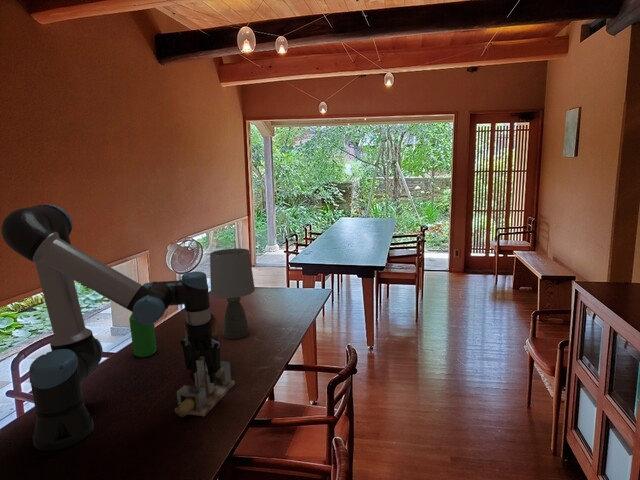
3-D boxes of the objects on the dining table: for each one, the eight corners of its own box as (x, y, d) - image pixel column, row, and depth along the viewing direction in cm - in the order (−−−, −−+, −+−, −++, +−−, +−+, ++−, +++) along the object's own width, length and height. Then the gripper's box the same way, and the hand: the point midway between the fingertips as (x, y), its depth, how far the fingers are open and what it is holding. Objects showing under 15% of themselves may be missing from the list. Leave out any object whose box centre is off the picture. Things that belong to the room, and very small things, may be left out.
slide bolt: (187, 417, 133) (183, 379, 131) (176, 416, 134) (172, 378, 132) (217, 387, 150) (214, 353, 148) (207, 386, 151) (204, 352, 149)
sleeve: (200, 412, 136) (198, 394, 135) (178, 409, 138) (176, 391, 137) (206, 405, 140) (205, 387, 139) (185, 402, 142) (184, 385, 141)
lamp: (207, 342, 192) (199, 256, 186) (226, 326, 210) (219, 247, 204) (248, 344, 188) (241, 257, 181) (264, 327, 206) (258, 247, 199)
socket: (225, 386, 151) (223, 367, 150) (205, 384, 153) (204, 365, 152) (231, 380, 155) (229, 361, 154) (211, 378, 157) (210, 360, 156)
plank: (204, 416, 136) (203, 412, 136) (175, 412, 139) (174, 408, 138) (235, 384, 155) (234, 380, 154) (208, 381, 157) (208, 378, 157)
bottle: (149, 358, 178) (141, 297, 174) (129, 357, 180) (121, 297, 176) (161, 349, 187) (154, 291, 182) (142, 348, 189) (135, 290, 184)
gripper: (228, 318, 143) (234, 387, 147) (182, 315, 148) (189, 382, 152) (216, 327, 136) (222, 399, 140) (168, 323, 141) (176, 393, 145)
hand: (205, 390), depth 146 cm, fingers closed on slide bolt, 4 cm apart
